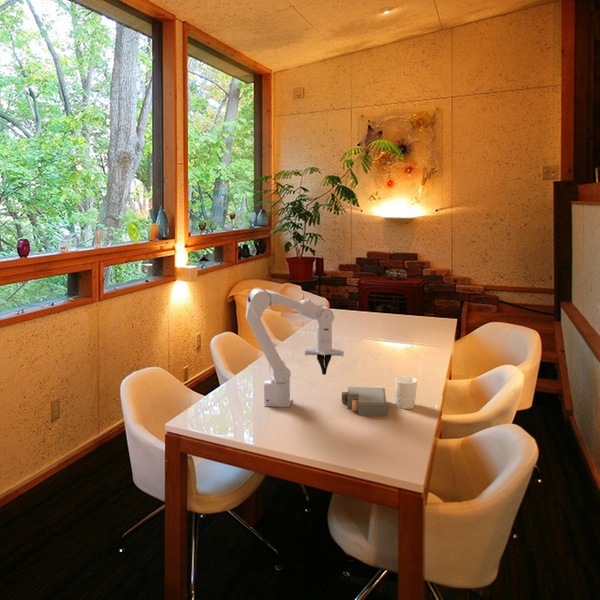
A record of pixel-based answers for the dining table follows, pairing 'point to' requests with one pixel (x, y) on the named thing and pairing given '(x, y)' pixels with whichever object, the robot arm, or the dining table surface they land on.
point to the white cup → (405, 392)
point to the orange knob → (354, 405)
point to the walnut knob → (344, 396)
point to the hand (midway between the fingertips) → (324, 373)
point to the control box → (368, 400)
